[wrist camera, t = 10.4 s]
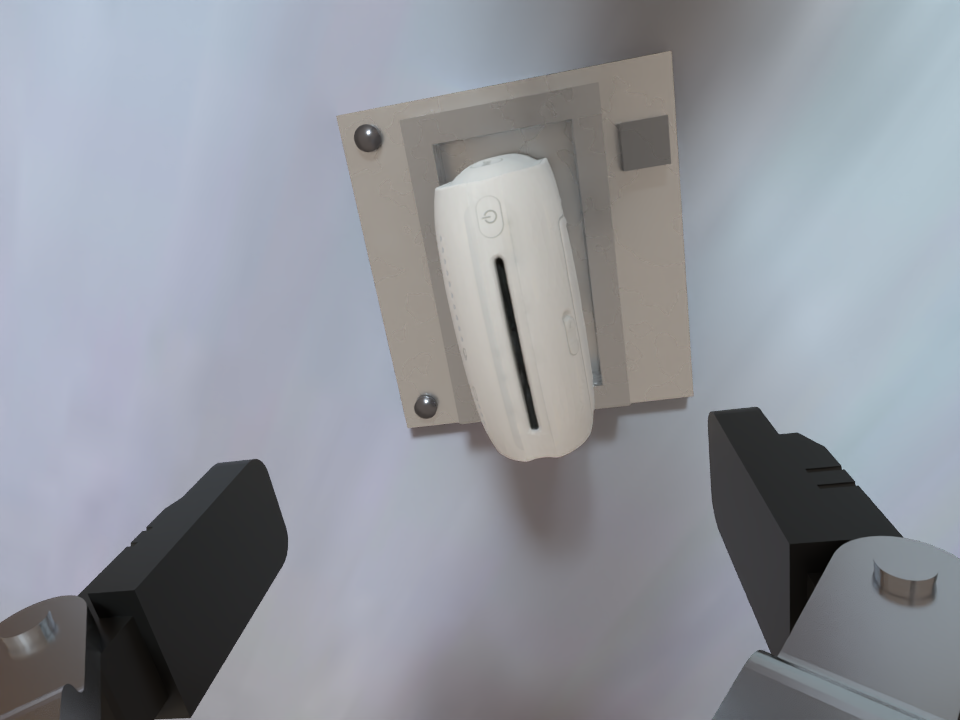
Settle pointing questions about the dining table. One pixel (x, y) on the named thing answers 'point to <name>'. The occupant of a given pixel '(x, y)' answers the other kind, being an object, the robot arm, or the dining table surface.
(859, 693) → the robot arm
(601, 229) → the plate
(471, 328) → the photo printer
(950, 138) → the dining table surface
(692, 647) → the dining table surface
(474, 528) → the dining table surface
